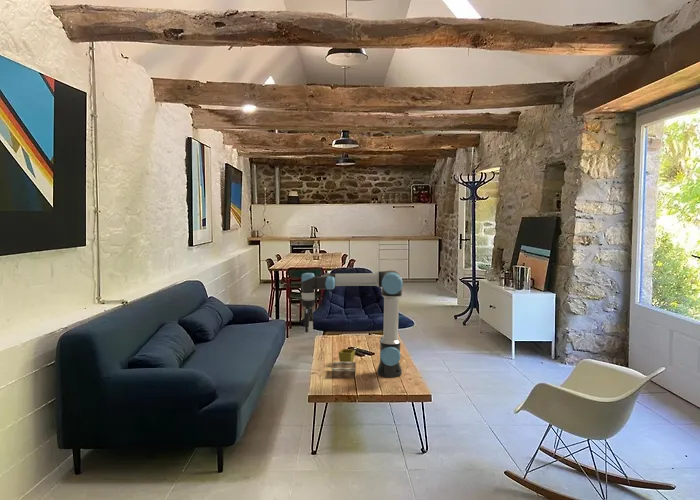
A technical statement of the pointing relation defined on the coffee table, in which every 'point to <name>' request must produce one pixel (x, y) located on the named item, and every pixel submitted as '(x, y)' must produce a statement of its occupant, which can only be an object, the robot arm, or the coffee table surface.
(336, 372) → the display stand
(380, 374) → the robot arm
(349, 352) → the flower pot
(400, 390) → the coffee table surface
